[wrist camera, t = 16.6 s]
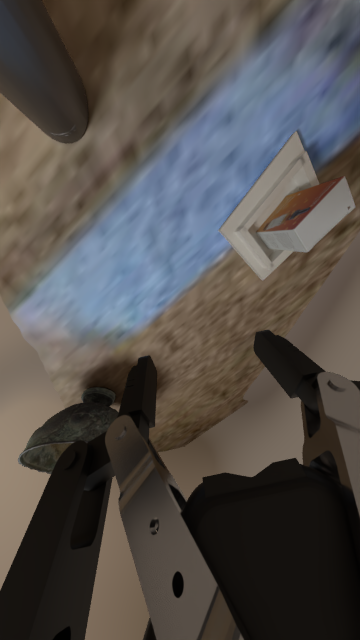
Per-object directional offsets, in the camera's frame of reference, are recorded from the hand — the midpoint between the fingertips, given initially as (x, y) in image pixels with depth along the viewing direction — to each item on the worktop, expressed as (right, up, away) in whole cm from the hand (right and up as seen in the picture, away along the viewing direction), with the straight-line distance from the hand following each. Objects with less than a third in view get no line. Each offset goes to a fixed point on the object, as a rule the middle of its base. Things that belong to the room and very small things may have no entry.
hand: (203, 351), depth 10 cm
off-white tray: (+19, +24, +20) cm, 37 cm away
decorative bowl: (-36, -30, +46) cm, 66 cm away
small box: (+20, +24, +20) cm, 36 cm away
